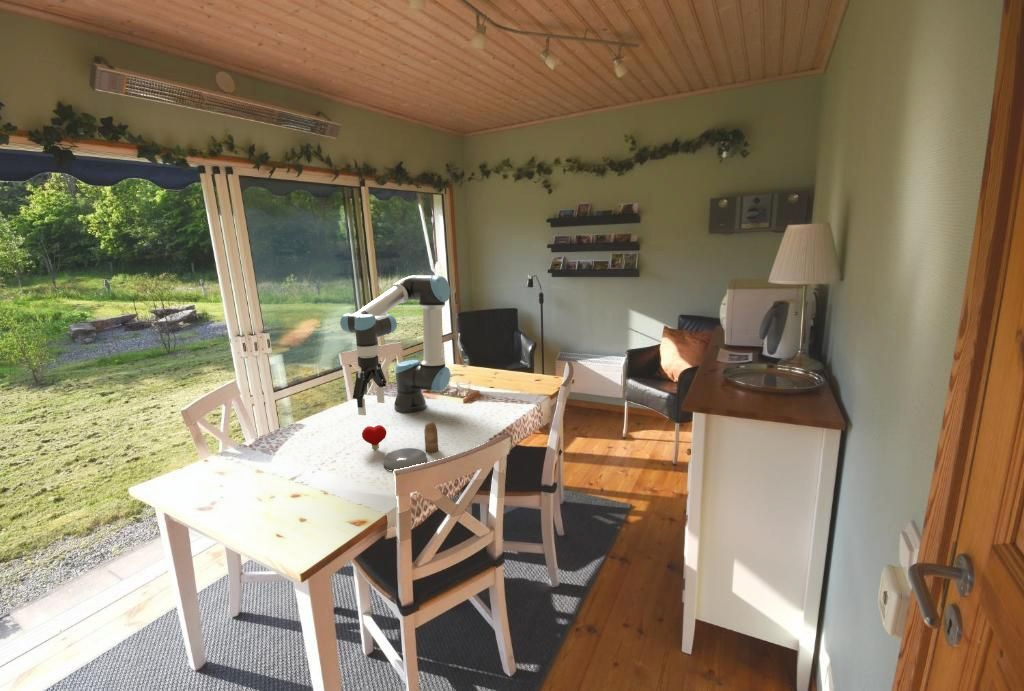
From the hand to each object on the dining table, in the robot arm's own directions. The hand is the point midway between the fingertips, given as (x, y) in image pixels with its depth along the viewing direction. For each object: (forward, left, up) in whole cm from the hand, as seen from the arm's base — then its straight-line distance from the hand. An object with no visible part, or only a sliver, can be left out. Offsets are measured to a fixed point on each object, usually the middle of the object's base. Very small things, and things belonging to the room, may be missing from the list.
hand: (371, 408), depth 185 cm
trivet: (+6, +16, -18) cm, 24 cm away
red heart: (0, 0, -18) cm, 18 cm away
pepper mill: (-5, +22, -18) cm, 29 cm away
